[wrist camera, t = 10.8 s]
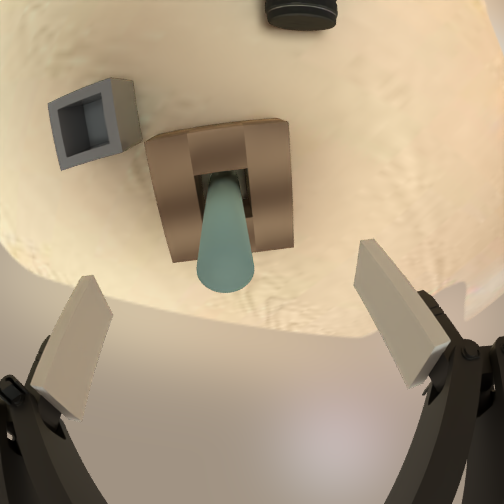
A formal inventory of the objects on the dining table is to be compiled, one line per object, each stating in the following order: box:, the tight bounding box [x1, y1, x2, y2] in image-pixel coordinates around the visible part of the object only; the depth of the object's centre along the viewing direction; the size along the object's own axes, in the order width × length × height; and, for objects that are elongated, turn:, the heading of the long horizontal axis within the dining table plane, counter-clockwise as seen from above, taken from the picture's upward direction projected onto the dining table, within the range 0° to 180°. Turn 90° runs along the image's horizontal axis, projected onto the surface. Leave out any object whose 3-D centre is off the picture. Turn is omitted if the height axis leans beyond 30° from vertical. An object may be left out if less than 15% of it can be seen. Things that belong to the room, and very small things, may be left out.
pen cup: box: [48, 78, 142, 171], centre depth 20 cm, size 7×7×6 cm
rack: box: [144, 118, 294, 263], centre depth 26 cm, size 12×12×5 cm
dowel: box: [197, 170, 254, 293], centre depth 21 cm, size 3×3×16 cm
